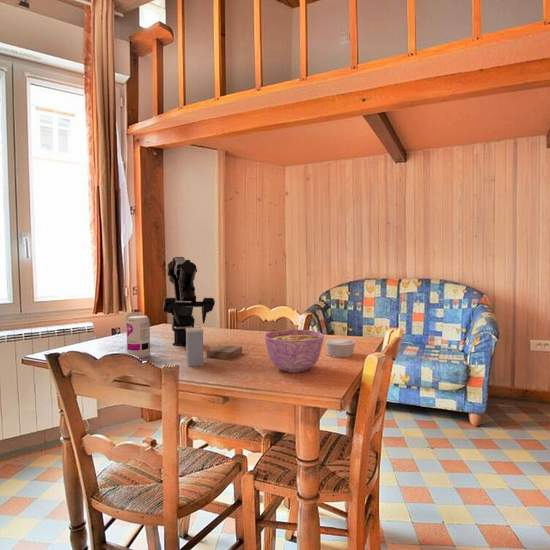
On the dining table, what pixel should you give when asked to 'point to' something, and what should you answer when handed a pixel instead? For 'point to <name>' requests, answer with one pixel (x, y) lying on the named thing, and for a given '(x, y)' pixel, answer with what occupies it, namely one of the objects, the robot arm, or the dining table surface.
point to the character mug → (131, 315)
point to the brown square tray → (224, 352)
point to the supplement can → (138, 336)
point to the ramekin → (340, 347)
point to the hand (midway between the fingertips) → (191, 323)
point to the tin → (194, 346)
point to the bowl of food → (294, 348)
